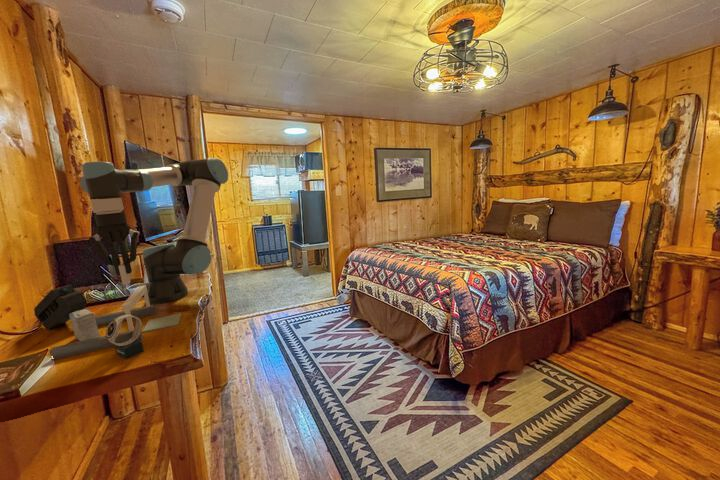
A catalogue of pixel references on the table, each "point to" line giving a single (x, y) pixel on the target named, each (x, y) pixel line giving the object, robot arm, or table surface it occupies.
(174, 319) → the mat
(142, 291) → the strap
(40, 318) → the tool
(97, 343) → the rails
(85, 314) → the medicine box
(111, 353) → the table surface
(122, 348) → the watch
